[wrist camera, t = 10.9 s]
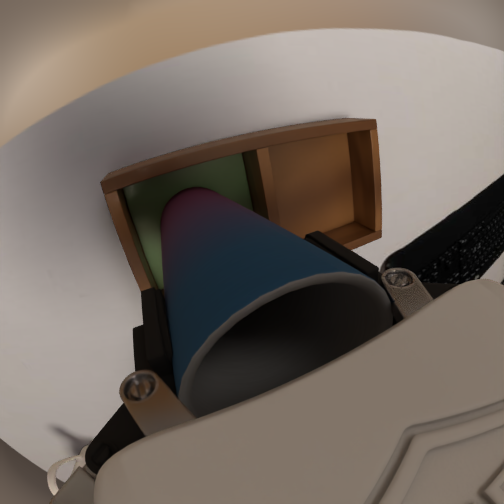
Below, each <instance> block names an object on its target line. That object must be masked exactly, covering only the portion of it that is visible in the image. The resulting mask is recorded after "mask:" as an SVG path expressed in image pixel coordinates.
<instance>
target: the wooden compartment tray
mask: <svg viewBox="0 0 504 504" xmlns="http://www.w3.org/2000/svg"><path fill="white" fill-rule="evenodd" d="M100 183H101V187H102V190H103V193H104V194H105V195H104V196H105V199H106V202H107V205H108V208H109V211H110V214H111V217H112V220H113V223H114V225H115V228H116V231H117V234H118V236H119V239H120V242H121V244H122V247H123V250H124V252H125V255H126V257H127V260H128V262H129V265H130V267H131V270H132V272H133V274H134V277H135V279H136V281H137V284H138V286H139V288H140V291H143V290H146V289H149V288H152V287H154V288H155V289H156V290H157V289H161V291H162V294H163V296H164V284H163V270H162V251H161V215H162V211H163V209H164V207H165V205H166V204H167V202H168V201H169V200H170V199H171V198H172V197H173V196H174V195H175V194H176V193H178V192H180V191H182V190H184V189H186V188H191V187H204V188H208V189H210V190H213V191H215V192H217V193H219V194H221V195H222V196H224V197H226V198H228V199H230V200H232V201H234V202H236V203H238V204H240V205H241V206H243V207H245V208H247V209H249V210H251V211H253V212H255V213H256V214H258V215H260V216H262V217H264V218H266V219H268V220H269V221H271V222H273V223H275V224H277V225H279V226H280V227H282V228H284V229H286V230H288V231H290V232H291V233H293V234H295V235H297V236H299V237H300V238H302V239H304V238H305V235H306V234H309V233H311V232H314V231H317V230H318V231H320V232H322V233H323V234H325V235H327V236H328V237H330V238H332V239H333V240H335V241H337V242H338V243H340V244H341V245H343V246H345V247H346V248H348V249H350V250H353V249H355V248H358V247H360V246H362V245H365V244H367V243H370V242H372V241H374V240H377V239H379V238H381V237H382V230H381V229H382V199H381V173H380V157H379V144H378V133H377V123H376V119H361V118H341V119H332V120H324V121H317V122H310V123H303V124H296V125H290V126H284V127H278V128H273V129H268V130H262V131H257V132H252V133H247V134H243V135H238V136H234V137H229V138H225V139H221V140H216V141H212V142H208V143H204V144H200V145H197V146H193V147H189V148H185V149H182V150H178V151H175V152H171V153H168V154H165V155H161V156H158V157H155V158H151V159H148V160H145V161H142V162H139V163H136V164H133V165H130V166H127V167H124V168H121V169H119V170H116V171H113V172H110V173H108V174H107V175H106V176H105V177H104V179H103V180H102V181H101V182H100ZM164 299H165V297H164Z"/></svg>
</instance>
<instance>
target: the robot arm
mask: <svg viewBox="0 0 504 504" xmlns="http://www.w3.org/2000/svg"><path fill="white" fill-rule="evenodd" d="M304 240H306V241H308V242H309V243H311V244H313V245H315V246H316V247H318V248H320V249H322V250H323V251H325V252H327V253H329V254H331V255H332V256H334V257H336V258H337V259H339V260H341V261H343V262H344V263H346V264H348V265H350V266H351V267H353V268H355V269H356V270H358V271H360V272H362V273H363V274H365V275H367V276H368V277H370V278H372V279H373V280H375V281H376V282H377V283H378V284H379V285H380V286H381V287H382V288H383V289H384V290H385V292H386V294H387V296H388V298H389V300H390V302H391V313H392V315H393V323H392V327H391V328H389V329H387V330H386V331H384V332H382V333H381V334H379V335H377V336H376V337H374V338H372V339H370V340H369V341H367V342H365V343H364V344H362V345H360V346H358V347H356V348H355V349H353V350H351V351H349V352H347V353H346V354H344V355H342V356H340V357H338V358H336V359H334V360H332V361H330V362H329V363H327V364H325V365H323V366H321V367H319V368H317V369H315V370H313V371H311V372H309V373H306V374H304V375H302V376H300V377H298V378H296V379H294V380H292V381H289V382H287V383H285V384H283V385H281V386H278V387H276V388H274V389H272V390H269V391H267V392H265V393H262V394H260V395H257V396H255V397H253V398H250V399H248V400H245V401H243V402H240V403H237V404H235V405H232V406H230V407H227V408H224V409H222V410H219V411H216V412H214V413H211V414H208V415H205V416H203V417H200V418H196V417H195V416H194V415H193V414H192V412H191V411H190V410H189V409H188V408H187V407H186V406H185V405H184V404H183V403H182V402H181V401H180V400H179V398H178V397H177V393H176V387H175V380H174V373H173V365H172V358H173V350H172V345H171V339H170V333H169V327H168V321H167V314H166V305H165V299H164V296H163V294H162V291H161V289H157V290H156V289H155V288H154V287H152V288H149V289H146V290H143V291H141V299H142V314H143V325H141V326H138V327H135V328H133V346H134V361H135V372H133V373H131V374H130V375H128V376H127V377H126V378H125V379H124V380H123V382H122V383H121V386H120V390H119V394H120V397H121V399H122V401H123V402H124V403H123V404H122V405H121V407H120V408H119V409H118V410H117V412H116V413H115V414H114V415H113V416H112V418H111V419H110V420H109V421H108V422H107V424H106V425H105V426H104V427H103V428H102V430H101V431H100V432H99V433H98V435H97V436H96V437H95V438H94V439H93V441H92V442H91V443H90V444H89V446H88V448H87V449H86V453H85V462H86V464H85V465H84V466H83V468H82V467H80V466H78V468H77V469H76V470H75V471H74V472H73V474H72V475H71V476H70V477H69V478H68V480H67V481H66V482H65V483H64V485H63V486H62V487H61V488H60V489H59V490H58V492H57V493H56V494H55V495H54V497H53V498H52V499H51V501H50V503H49V504H504V286H503V285H501V284H499V283H497V282H495V281H493V280H489V279H477V280H473V281H468V282H465V283H463V284H460V285H459V284H440V283H421V282H420V280H419V279H418V278H417V277H416V275H415V274H414V273H413V272H411V271H409V270H407V269H403V268H392V269H388V270H386V271H385V272H384V273H383V274H381V273H380V272H378V271H379V268H378V267H377V266H375V265H373V264H372V263H370V262H369V261H367V260H366V259H364V258H362V257H361V256H359V255H358V254H356V253H354V252H353V251H351V250H350V249H348V248H346V247H345V246H343V245H341V244H340V243H338V242H337V241H335V240H333V239H332V238H330V237H328V236H327V235H325V234H323V233H322V232H320V231H318V230H317V231H314V232H311V233H309V234H306V235H305V238H304Z"/></svg>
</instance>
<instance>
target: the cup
mask: <svg viewBox="0 0 504 504" xmlns="http://www.w3.org/2000/svg"><path fill="white" fill-rule="evenodd" d="M161 251H162V270H163V284H164V297H165V305H166V314H167V321H168V327H169V333H170V339H171V345H172V350H173V358H172V365H173V373H174V380H175V387H176V393H177V397H178V398H179V400H180V401H181V402H182V403H183V404H184V405H185V406H186V407H187V408H188V409H189V410H190V411H191V412H192V414H193V415H194V416H195V417H196V418H200V417H203V416H205V415H208V414H211V413H214V412H216V411H219V410H222V409H224V408H227V407H230V406H232V405H235V404H237V403H240V402H243V401H245V400H248V399H250V398H253V397H255V396H257V395H260V394H262V393H265V392H267V391H269V390H272V389H274V388H276V387H278V386H281V385H283V384H285V383H287V382H289V381H292V380H294V379H296V378H298V377H300V376H302V375H304V374H306V373H309V372H311V371H313V370H315V369H317V368H319V367H321V366H323V365H325V364H327V363H329V362H330V361H332V360H334V359H336V358H338V357H340V356H342V355H344V354H346V353H347V352H349V351H351V350H353V349H355V348H356V347H358V346H360V345H362V344H364V343H365V342H367V341H369V340H370V339H372V338H374V337H376V336H377V335H379V334H381V333H382V332H384V331H386V330H387V329H389V328H391V327H392V323H393V315H392V313H391V302H390V300H389V298H388V296H387V294H386V292H385V290H384V289H383V288H382V287H381V286H380V285H379V284H378V283H377V282H376V281H375V280H373V279H372V278H370V277H368V276H367V275H365V274H363V273H362V272H360V271H358V270H356V269H355V268H353V267H351V266H350V265H348V264H346V263H344V262H343V261H341V260H339V259H337V258H336V257H334V256H332V255H331V254H329V253H327V252H325V251H323V250H322V249H320V248H318V247H316V246H315V245H313V244H311V243H309V242H308V241H306V240H304V239H302V238H300V237H299V236H297V235H295V234H293V233H291V232H290V231H288V230H286V229H284V228H282V227H280V226H279V225H277V224H275V223H273V222H271V221H269V220H268V219H266V218H264V217H262V216H260V215H258V214H256V213H255V212H253V211H251V210H249V209H247V208H245V207H243V206H241V205H240V204H238V203H236V202H234V201H232V200H230V199H228V198H226V197H224V196H222V195H221V194H219V193H217V192H215V191H213V190H210V189H208V188H204V187H191V188H186V189H184V190H182V191H180V192H178V193H176V194H175V195H174V196H173V197H172V198H171V199H170V200H169V201H168V202H167V204H166V205H165V207H164V209H163V211H162V215H161Z"/></svg>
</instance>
